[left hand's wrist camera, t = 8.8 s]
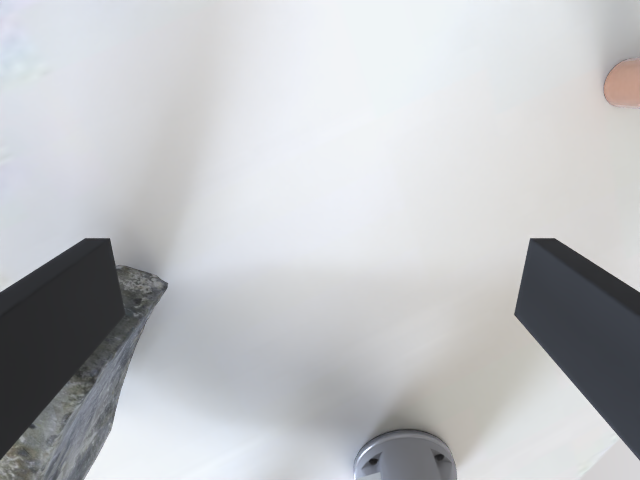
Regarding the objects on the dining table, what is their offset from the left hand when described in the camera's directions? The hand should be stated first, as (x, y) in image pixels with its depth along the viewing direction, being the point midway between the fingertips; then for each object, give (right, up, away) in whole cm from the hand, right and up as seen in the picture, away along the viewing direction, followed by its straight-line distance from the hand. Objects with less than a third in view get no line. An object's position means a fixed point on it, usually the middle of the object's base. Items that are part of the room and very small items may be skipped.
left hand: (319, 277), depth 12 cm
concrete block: (-26, -12, +39) cm, 49 cm away
